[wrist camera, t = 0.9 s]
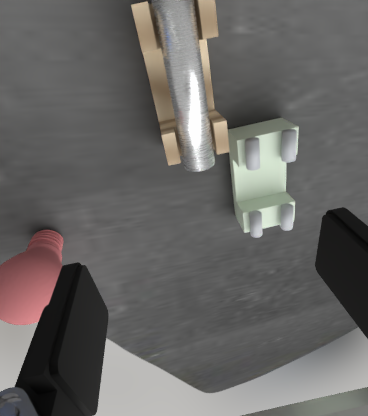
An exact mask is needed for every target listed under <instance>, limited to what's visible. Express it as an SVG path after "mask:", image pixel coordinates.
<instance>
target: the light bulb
mask: <svg viewBox="0 0 368 416" xmlns="http://www.w3.org/2000/svg"><path fill="white" fill-rule="evenodd" d="M62 245H63V238H62V236H61V235H60V234H59V233H57V232H56V231H52V230H42V231H39V232H37V233H36V234H35V235H34V236H33V237H32V239H31V241H30V243H29V245H28V248H27V250H26V251H25V252H23V253H20V254H18V255H16V256H14V257H12V258H11V259H9V260H7V261H6V262H4V263H3V264H2V265H1V266H0V319H1V320H3V321H5V322H7V323H10V324H14V325H27V324H32V323H35V322H38V321H39V319H40V317H41V314H42V311H43V309H44V307H45V306H47V305H49V302H50V299H51V296H52V293H53V290H54V288H55V285H56V282H57V279H58V276H59V273H60V271H61V268H62V264H61V261H62V254H61V250H62Z"/></svg>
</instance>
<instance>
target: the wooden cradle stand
mask: <svg viewBox="0 0 368 416" xmlns="http://www.w3.org/2000/svg"><path fill="white" fill-rule="evenodd" d="M194 6H195V14H196V21H197V29H198V37H199V44H200V52H201V60H202V67H203V75H204V82H205V90H206V98H207V105H208V113H209V120H210V128H211V136H212V143H213V149H214V150H215V152H216V153H217V155H218V154H222V153H227V152H230V150H229V140H228V130H227V120H225V119H224V118H223V117H222V116H221V115H220V114H219V113H218V112H217V111H216V110H215V108H214V100H213V91H212V83H211V74H210V66H209V58H208V49H207V41H206V39H208V38H212V37H217V36H218V27H217V17H216V7H215V0H194ZM131 7H132V11H133V15H134V20H135V24H136V28H137V32H138V37H139V41H140V45H141V50H142V53H143V56H144V60H145V64H146V69H147V73H148V77H149V81H150V86H151V90H152V94H153V99H154V103H155V107H156V112H157V116H158V120H159V125H160V130H161V135H162V139H163V144H164V148H165V152H166V157H167V161H168V165H173V164H178V163H181V161H180V156H182V151H181V146H180V141H179V136H178V131H177V126H176V121H175V116H174V111H173V106H172V101H171V96H170V91H169V86H168V81H167V76H166V71H165V66H164V61H163V56H162V51H161V46H160V40H159V35H158V30H157V25H156V20H155V15H154V10H153V5H152V4H148V1H147V2H142V3H138V4H133V5H131Z"/></svg>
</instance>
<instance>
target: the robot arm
mask: <svg viewBox="0 0 368 416" xmlns="http://www.w3.org/2000/svg"><path fill="white" fill-rule="evenodd" d="M315 266H316V270H317V272H318V274H319V275H320V276H321V278H322V279H323V280H324V282H325V283H326V284H327V286H328V287H329V288H330V289H331V291H332V292H333V293H334V295H335V296H336V297H337V299H338V300H339V301H340V303H341V304H342V305H343V307H344V308H345V309H346V311H347V312H348V313H349V315H350V316H351V317H352V319H353V320H354V321H355V323H356V324H357V325H358V327H359V328H360V329H361V331H362V332H363V333H364V335H365V336H366V337H367V338H368V226H367V225H366V224H364V223H363V222H362V221H361V220H360V219H358V218H357V217H356V216H355V215H354V214H352V213H351V212H350V211H349V210H347V209H346V208H343V207H342V208H338V209H333V210H329V211H327V212H326V215H324V216H323V218H322V224H321V230H320V237H319V243H318V249H317V256H316V262H315ZM107 325H108V310H107V307H106V305H105V303H104V301H103V299H102V297H101V295H100V293H99V291H98V289H97V287H96V285H95V283H94V281H93V279H92V277H91V275H90V273H89V271H88V269H87V267H86V266H85V265H81V264H80V263H73V264H68V265H64V266H62V268H61V271H60V273H59V276H58V279H57V282H56V285H55V288H54V290H53V293H52V296H51V299H50V302H49V305H47V306H45V307H44V309H43V311H42V314H41V317H40V319H39V322H38V325H37V328H36V330H35V333H34V336H33V338H32V341H31V344H30V347H29V349H28V352H27V355H26V357H25V360H24V363H23V365H22V368H21V371H20V374H19V376H18V379H17V382H16V385H15V387H13V388H8V389H5V390H3V391H1V392H0V416H93V415H95V414H96V412H97V407H98V399H99V390H100V382H101V374H102V366H103V358H104V357H103V356H104V349H105V341H106V333H107ZM242 416H368V387H367V388H362V389H357V390H353V391H348V392H344V393H339V394H335V395H331V396H326V397H321V398H317V399H312V400H308V401H304V402H300V403H295V404H290V405H286V406H282V407H277V408H273V409H268V410H264V411H260V412H255V413H251V414H246V415H242Z"/></svg>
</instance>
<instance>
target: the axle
mask: <svg viewBox="0 0 368 416" xmlns="http://www.w3.org/2000/svg"><path fill="white" fill-rule="evenodd" d="M152 5H153V10H154V15H155V20H156V25H157V30H158V35H159V40H160V46H161V51H162V56H163V61H164V66H165V71H166V76H167V81H168V86H169V91H170V96H171V101H172V106H173V111H174V116H175V121H176V126H177V131H178V136H179V141H180V146H181V151H182V156H183V161H184V166H185V169H186V170H188V171H192V172H198V171H204V170H207V169H209V168H211V167H213V166H214V164H215V158H214V151H213V143H212V136H211V128H210V120H209V113H208V105H207V98H206V90H205V82H204V75H203V67H202V60H201V52H200V44H199V37H198V29H197V21H196V14H195V6H194V0H152Z"/></svg>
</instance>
